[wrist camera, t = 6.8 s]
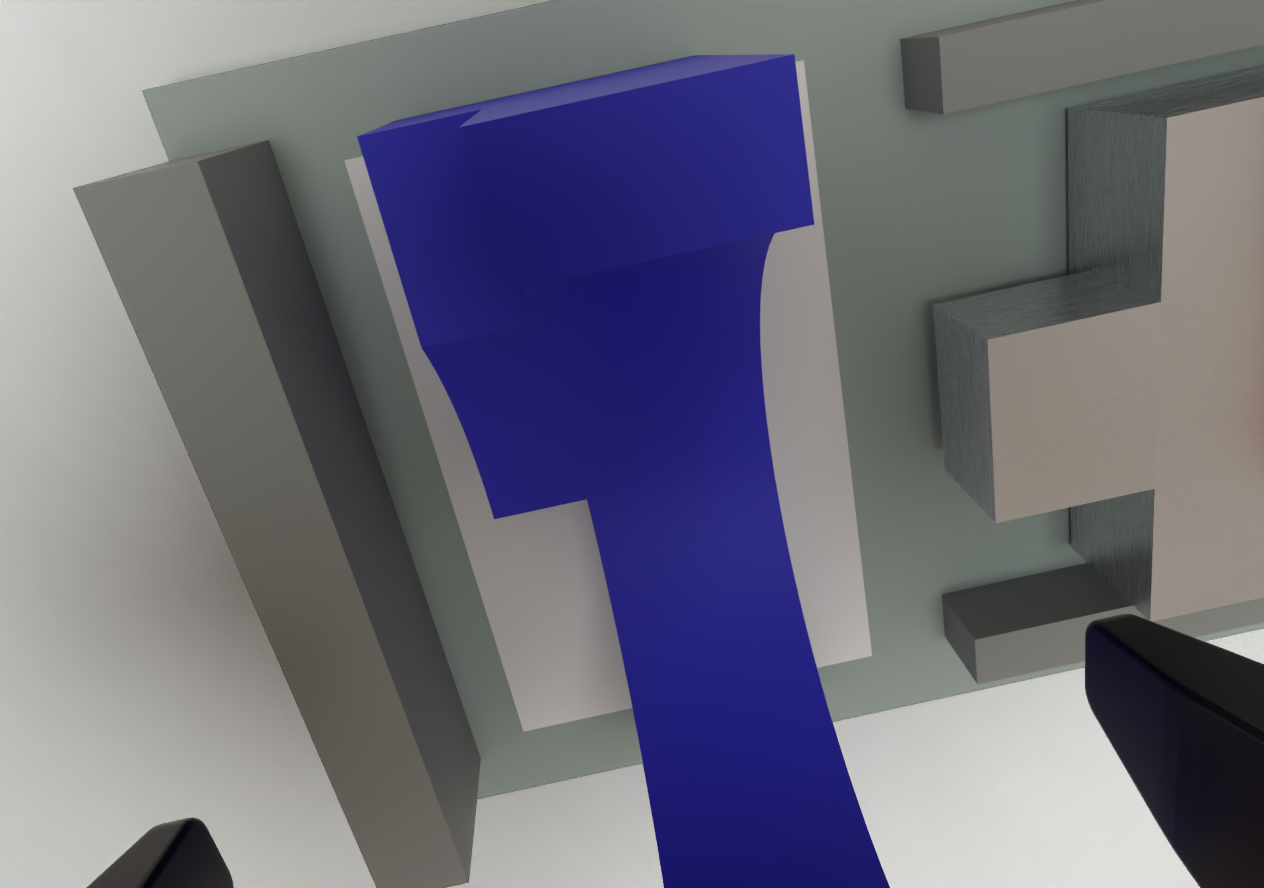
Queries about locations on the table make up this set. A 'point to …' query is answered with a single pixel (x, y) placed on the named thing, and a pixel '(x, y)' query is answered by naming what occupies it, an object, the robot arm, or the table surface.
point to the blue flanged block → (644, 415)
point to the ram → (1133, 354)
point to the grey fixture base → (564, 535)
